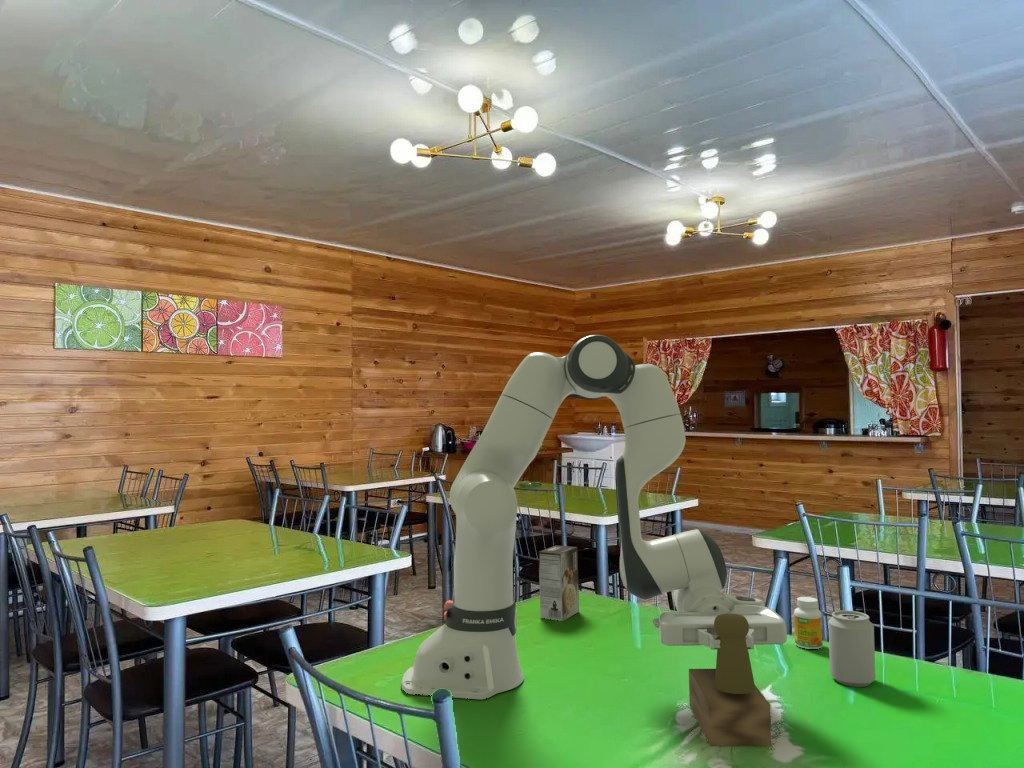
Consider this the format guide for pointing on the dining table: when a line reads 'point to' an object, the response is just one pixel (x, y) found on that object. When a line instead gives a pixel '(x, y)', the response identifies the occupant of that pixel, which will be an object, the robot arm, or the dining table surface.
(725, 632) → the cork
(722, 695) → the walnut block
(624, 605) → the dining table surface
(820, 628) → the supplement bottle
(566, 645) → the dining table surface
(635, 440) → the robot arm
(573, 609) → the coffee box
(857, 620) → the can
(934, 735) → the dining table surface
